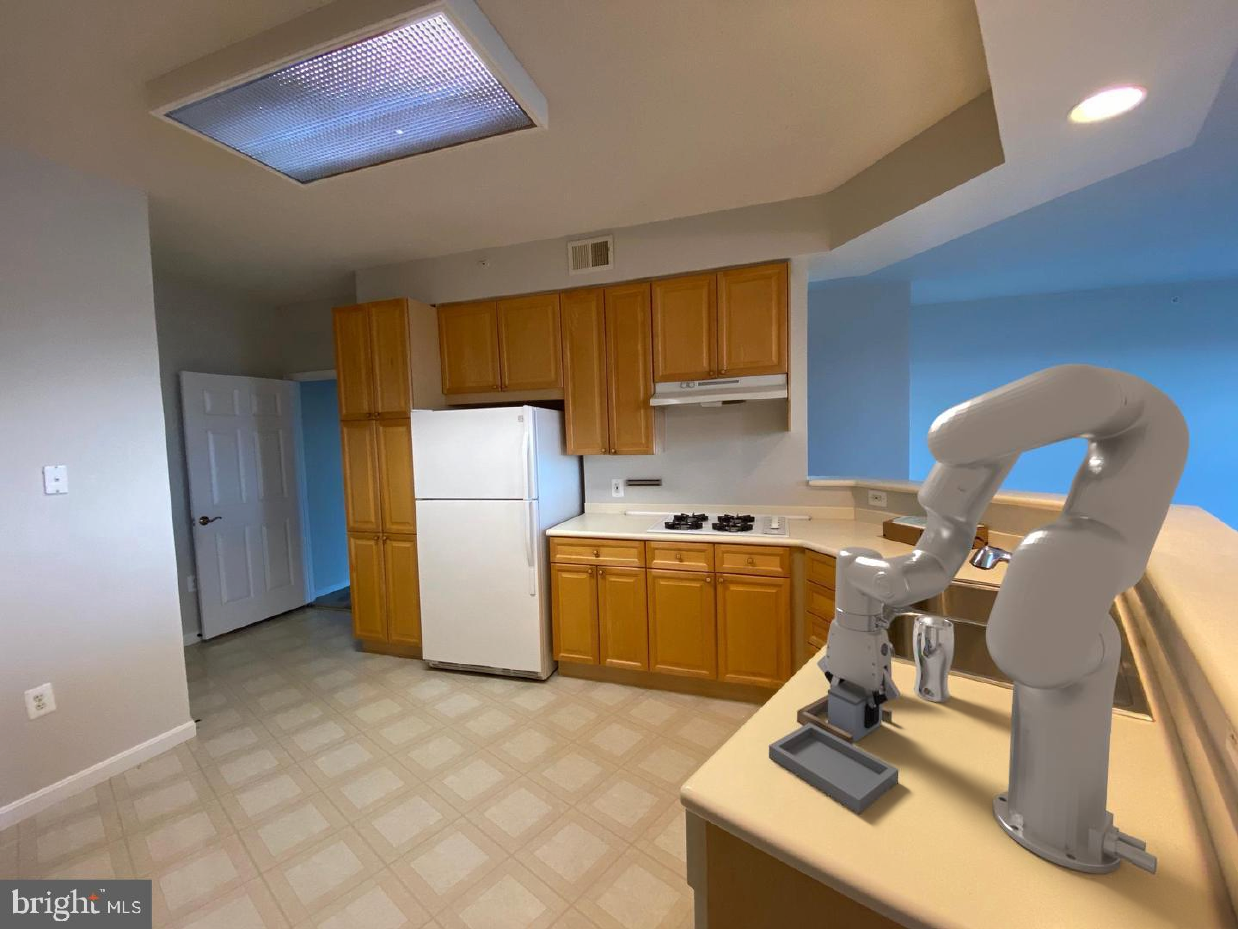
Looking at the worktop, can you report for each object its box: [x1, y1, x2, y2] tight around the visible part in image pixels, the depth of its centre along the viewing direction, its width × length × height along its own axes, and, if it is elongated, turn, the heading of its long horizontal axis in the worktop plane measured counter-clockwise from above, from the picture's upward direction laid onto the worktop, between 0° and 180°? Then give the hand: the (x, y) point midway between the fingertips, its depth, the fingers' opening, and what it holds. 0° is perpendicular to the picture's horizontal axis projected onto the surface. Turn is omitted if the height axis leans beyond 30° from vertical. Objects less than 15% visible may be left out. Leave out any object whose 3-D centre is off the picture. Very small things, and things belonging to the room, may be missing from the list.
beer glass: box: [912, 615, 955, 703], centre depth 99 cm, size 7×7×15 cm
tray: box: [768, 723, 899, 815], centre depth 78 cm, size 15×11×2 cm
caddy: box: [827, 681, 884, 743], centre depth 89 cm, size 5×9×7 cm, turn 125°
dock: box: [796, 694, 893, 746], centre depth 91 cm, size 10×14×2 cm
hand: (854, 717), depth 89 cm, fingers closed on caddy, 5 cm apart
